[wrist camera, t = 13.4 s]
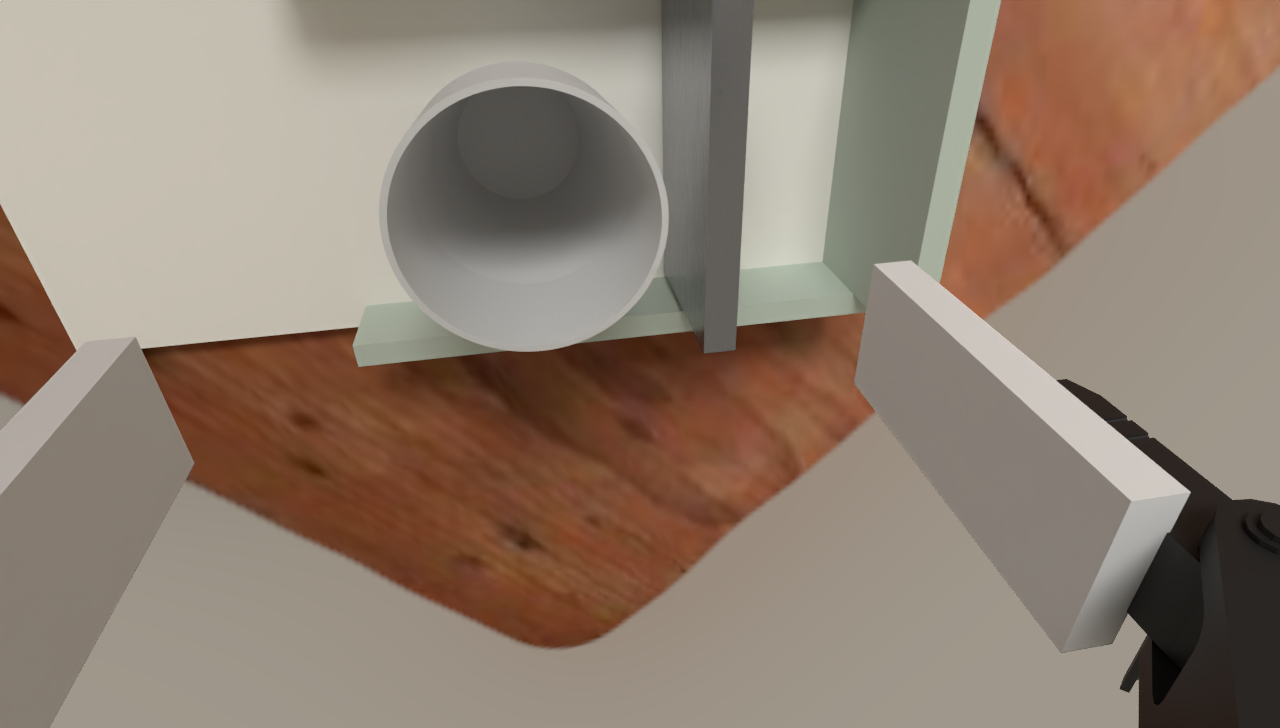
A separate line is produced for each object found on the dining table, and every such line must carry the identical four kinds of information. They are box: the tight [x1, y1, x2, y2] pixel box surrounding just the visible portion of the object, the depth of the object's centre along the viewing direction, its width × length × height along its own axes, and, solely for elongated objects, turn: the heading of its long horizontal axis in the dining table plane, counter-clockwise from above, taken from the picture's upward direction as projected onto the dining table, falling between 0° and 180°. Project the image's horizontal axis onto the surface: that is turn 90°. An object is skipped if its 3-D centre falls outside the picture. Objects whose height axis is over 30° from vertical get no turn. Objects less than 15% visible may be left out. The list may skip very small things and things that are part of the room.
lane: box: [0, 0, 1001, 367], centre depth 25 cm, size 34×16×9 cm, turn 92°
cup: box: [379, 62, 669, 352], centre depth 25 cm, size 8×8×10 cm
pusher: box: [662, 0, 754, 353], centre depth 26 cm, size 1×13×8 cm, turn 2°
